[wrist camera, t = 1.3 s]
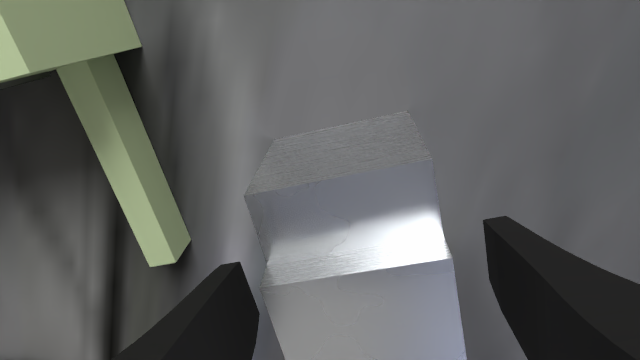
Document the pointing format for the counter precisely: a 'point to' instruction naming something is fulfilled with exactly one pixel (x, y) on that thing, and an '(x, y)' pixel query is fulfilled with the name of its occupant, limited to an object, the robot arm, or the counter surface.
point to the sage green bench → (97, 103)
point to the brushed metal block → (356, 245)
